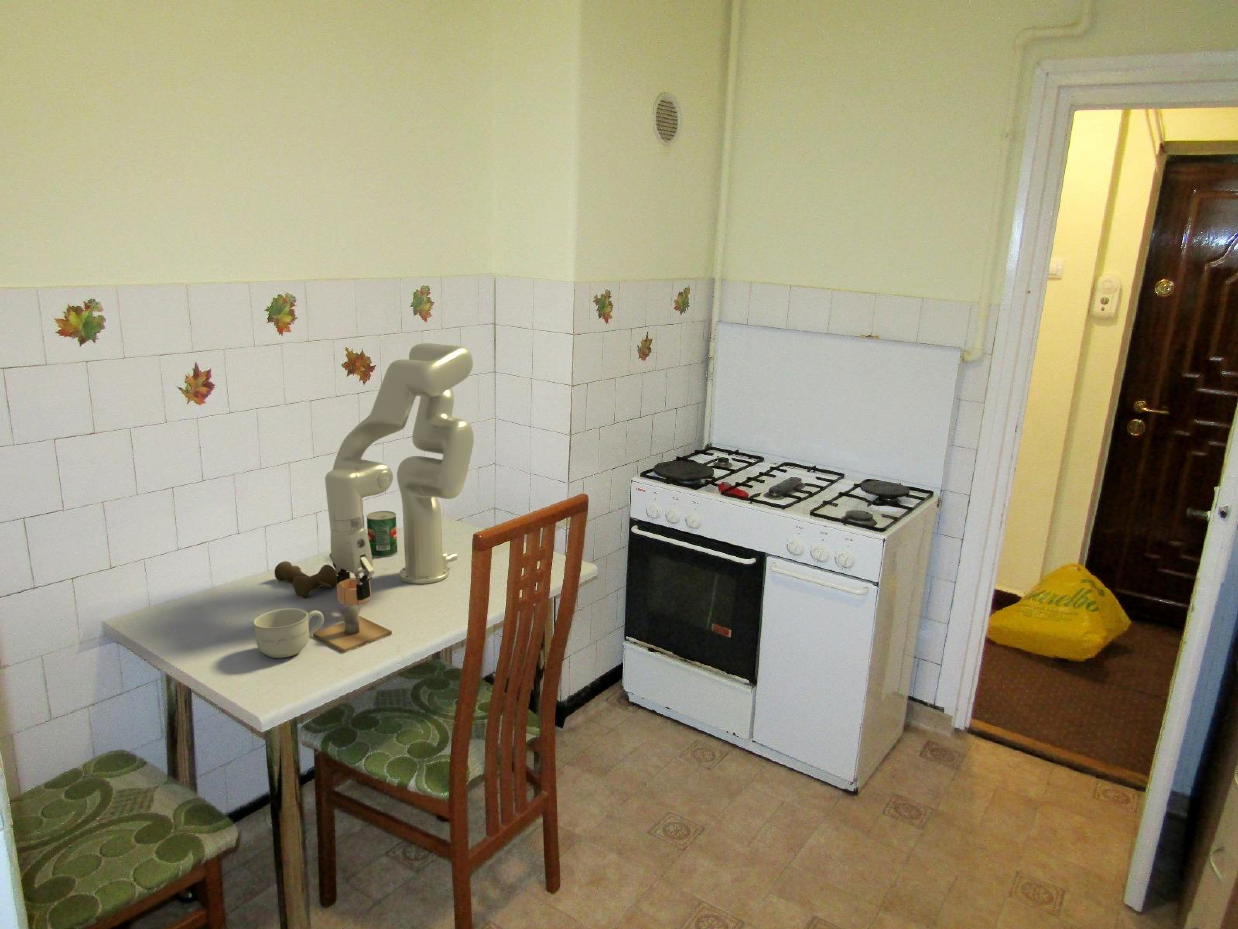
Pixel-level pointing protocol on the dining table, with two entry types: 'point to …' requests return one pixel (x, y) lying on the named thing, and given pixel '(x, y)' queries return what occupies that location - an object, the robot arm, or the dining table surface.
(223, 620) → the dining table surface
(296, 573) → the kendama
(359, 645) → the post plate
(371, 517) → the canned tomato
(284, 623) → the teacup
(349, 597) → the ring
